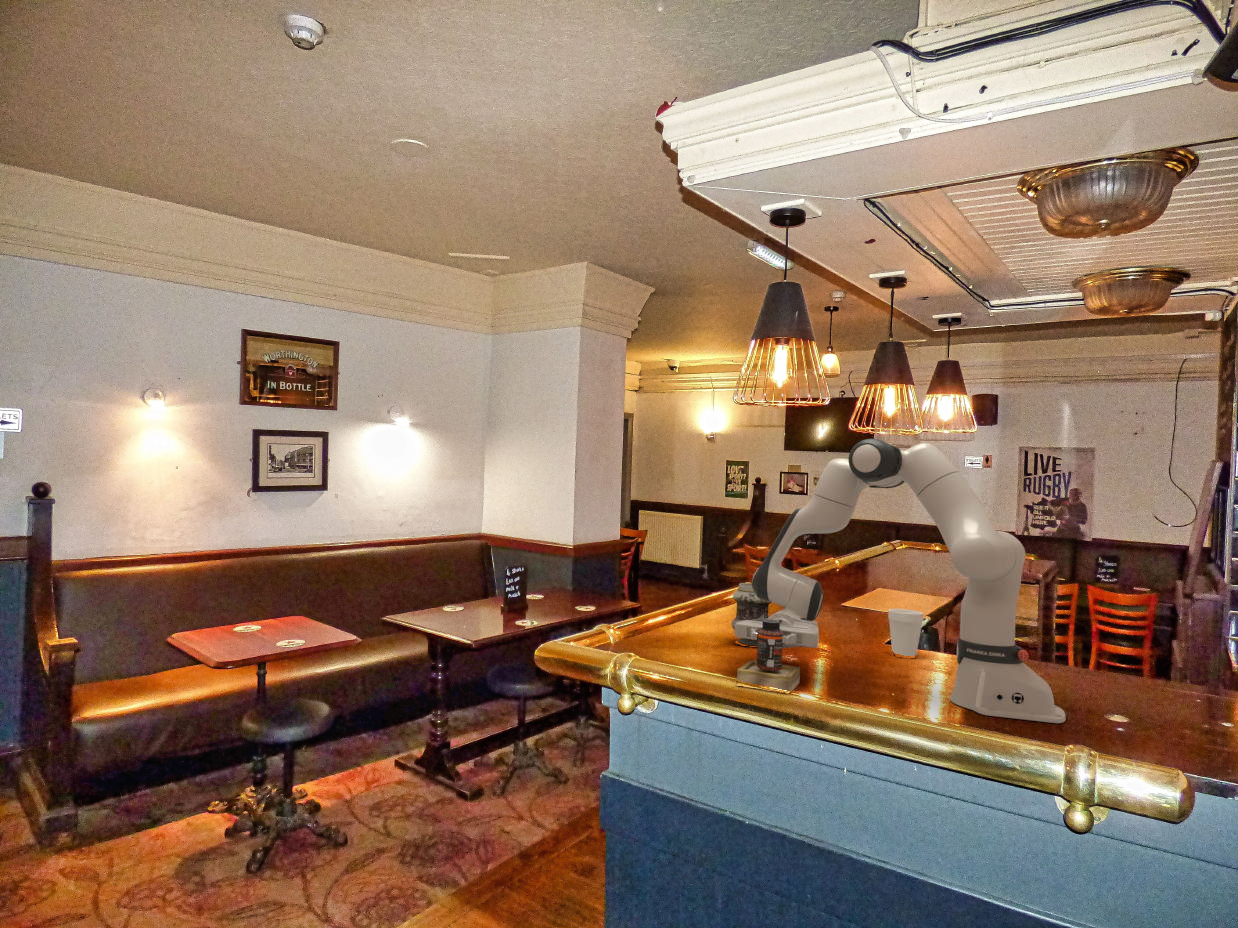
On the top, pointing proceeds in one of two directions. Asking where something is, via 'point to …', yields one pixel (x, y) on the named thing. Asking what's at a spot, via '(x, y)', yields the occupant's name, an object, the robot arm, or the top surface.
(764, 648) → the supplement bottle
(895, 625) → the foam cup
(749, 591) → the apothecary jar
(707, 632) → the top surface
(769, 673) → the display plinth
